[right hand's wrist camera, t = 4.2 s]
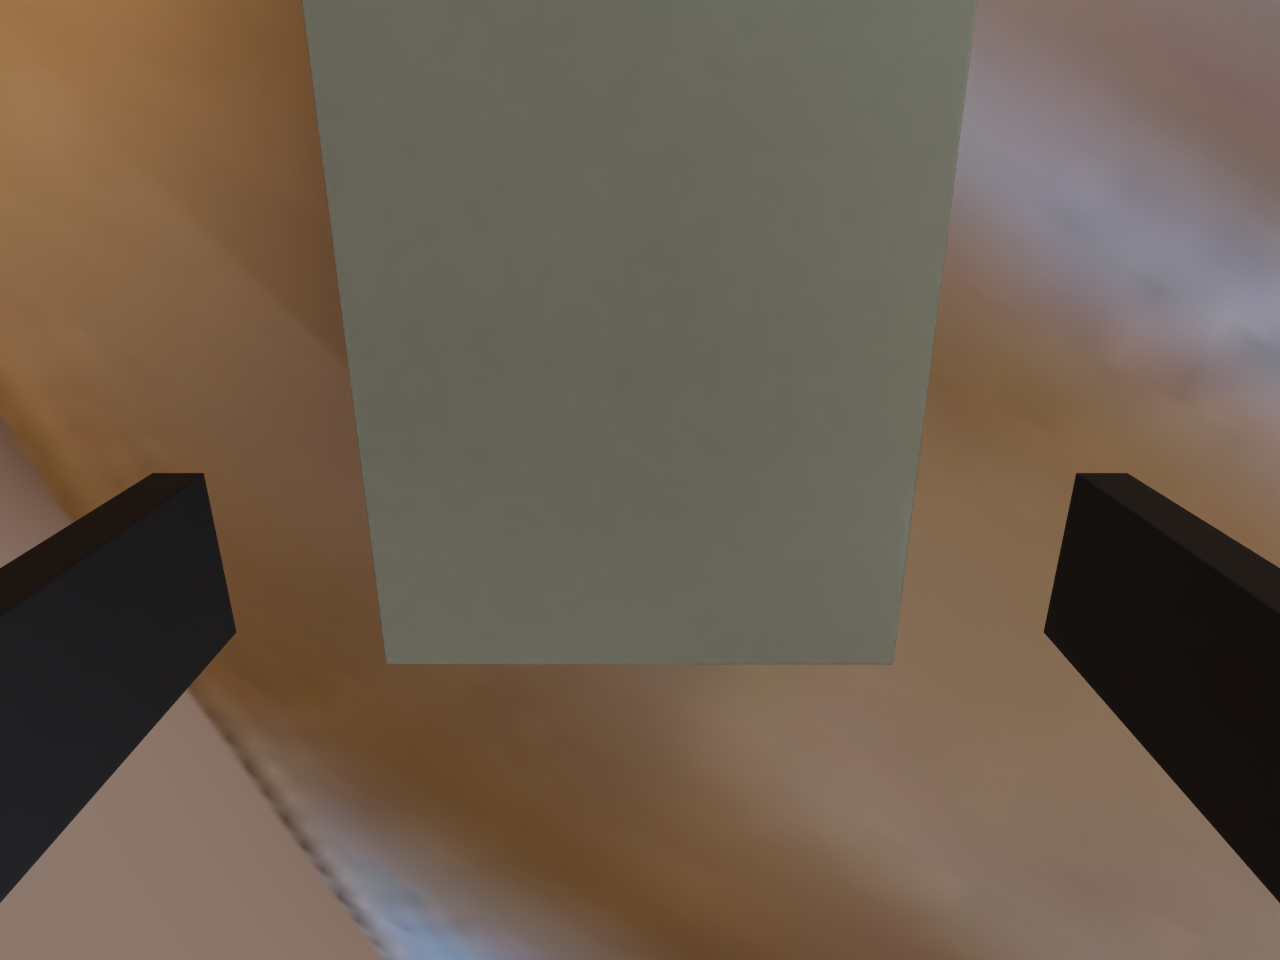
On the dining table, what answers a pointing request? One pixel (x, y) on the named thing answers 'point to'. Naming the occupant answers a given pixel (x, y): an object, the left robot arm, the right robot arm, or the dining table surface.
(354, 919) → the dining table surface
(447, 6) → the cabinet
